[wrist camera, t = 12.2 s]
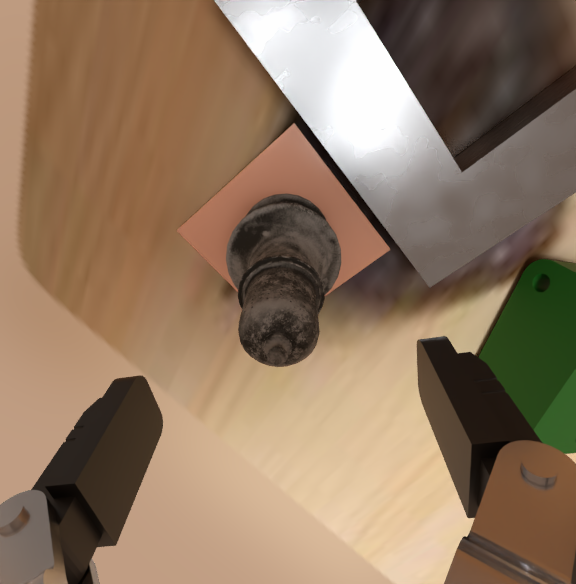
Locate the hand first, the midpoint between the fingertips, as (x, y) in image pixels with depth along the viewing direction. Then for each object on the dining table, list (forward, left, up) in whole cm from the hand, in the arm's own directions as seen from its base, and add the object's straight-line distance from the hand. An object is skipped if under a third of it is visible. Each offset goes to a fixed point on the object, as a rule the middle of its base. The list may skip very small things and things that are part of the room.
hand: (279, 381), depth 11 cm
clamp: (-9, +16, -14) cm, 23 cm away
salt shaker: (0, 0, -13) cm, 13 cm away
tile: (0, 0, -13) cm, 13 cm away
